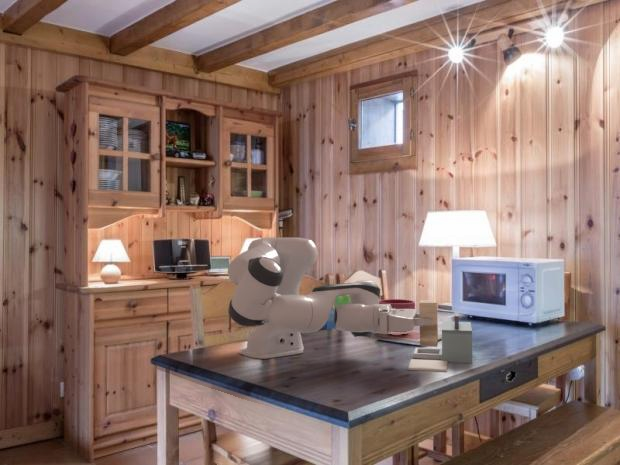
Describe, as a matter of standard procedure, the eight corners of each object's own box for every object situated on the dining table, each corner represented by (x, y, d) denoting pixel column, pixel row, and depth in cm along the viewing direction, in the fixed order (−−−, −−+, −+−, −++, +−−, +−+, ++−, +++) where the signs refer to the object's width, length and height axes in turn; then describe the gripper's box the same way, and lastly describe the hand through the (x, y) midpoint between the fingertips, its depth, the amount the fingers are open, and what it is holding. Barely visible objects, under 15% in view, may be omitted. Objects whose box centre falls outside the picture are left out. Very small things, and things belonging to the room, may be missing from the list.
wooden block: (437, 346, 166) (436, 302, 166) (419, 346, 167) (419, 302, 167) (437, 343, 171) (437, 300, 171) (421, 342, 172) (420, 300, 172)
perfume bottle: (324, 325, 242) (324, 297, 242) (336, 327, 238) (335, 298, 238) (315, 327, 237) (315, 299, 237) (327, 329, 234) (326, 300, 233)
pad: (446, 371, 163) (446, 369, 163) (408, 369, 166) (408, 367, 166) (447, 362, 174) (447, 360, 174) (411, 361, 177) (411, 359, 177)
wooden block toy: (472, 363, 173) (471, 317, 172) (412, 360, 177) (412, 316, 177) (471, 351, 188) (470, 310, 188) (416, 349, 193) (415, 308, 192)
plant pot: (416, 330, 227) (416, 299, 227) (413, 337, 214) (413, 303, 214) (381, 329, 231) (381, 298, 231) (376, 336, 218) (375, 302, 218)
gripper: (389, 323, 183) (433, 324, 179) (380, 335, 163) (429, 336, 159) (389, 303, 183) (432, 304, 179) (380, 313, 163) (429, 314, 159)
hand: (431, 319), depth 169 cm, fingers closed on wooden block, 5 cm apart
